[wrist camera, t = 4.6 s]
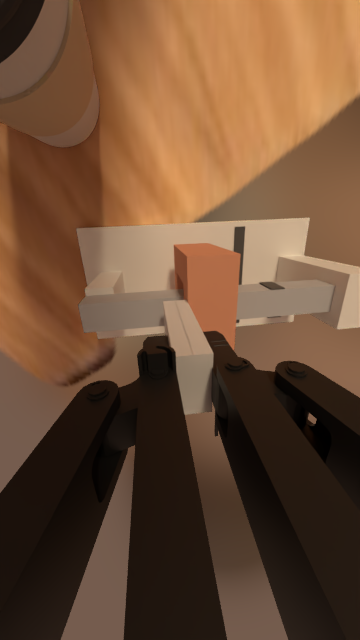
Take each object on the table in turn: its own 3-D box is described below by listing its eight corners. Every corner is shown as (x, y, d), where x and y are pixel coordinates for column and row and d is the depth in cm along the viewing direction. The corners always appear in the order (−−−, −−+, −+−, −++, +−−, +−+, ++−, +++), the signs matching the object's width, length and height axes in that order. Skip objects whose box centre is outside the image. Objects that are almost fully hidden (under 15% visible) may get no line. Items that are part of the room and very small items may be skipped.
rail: (78, 228, 21) (24, 231, 12) (304, 217, 23) (404, 214, 14) (99, 335, 26) (71, 398, 16) (289, 319, 28) (358, 366, 18)
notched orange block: (173, 244, 20) (186, 256, 13) (207, 242, 20) (240, 253, 13) (177, 329, 23) (189, 378, 16) (206, 326, 23) (232, 373, 16)
